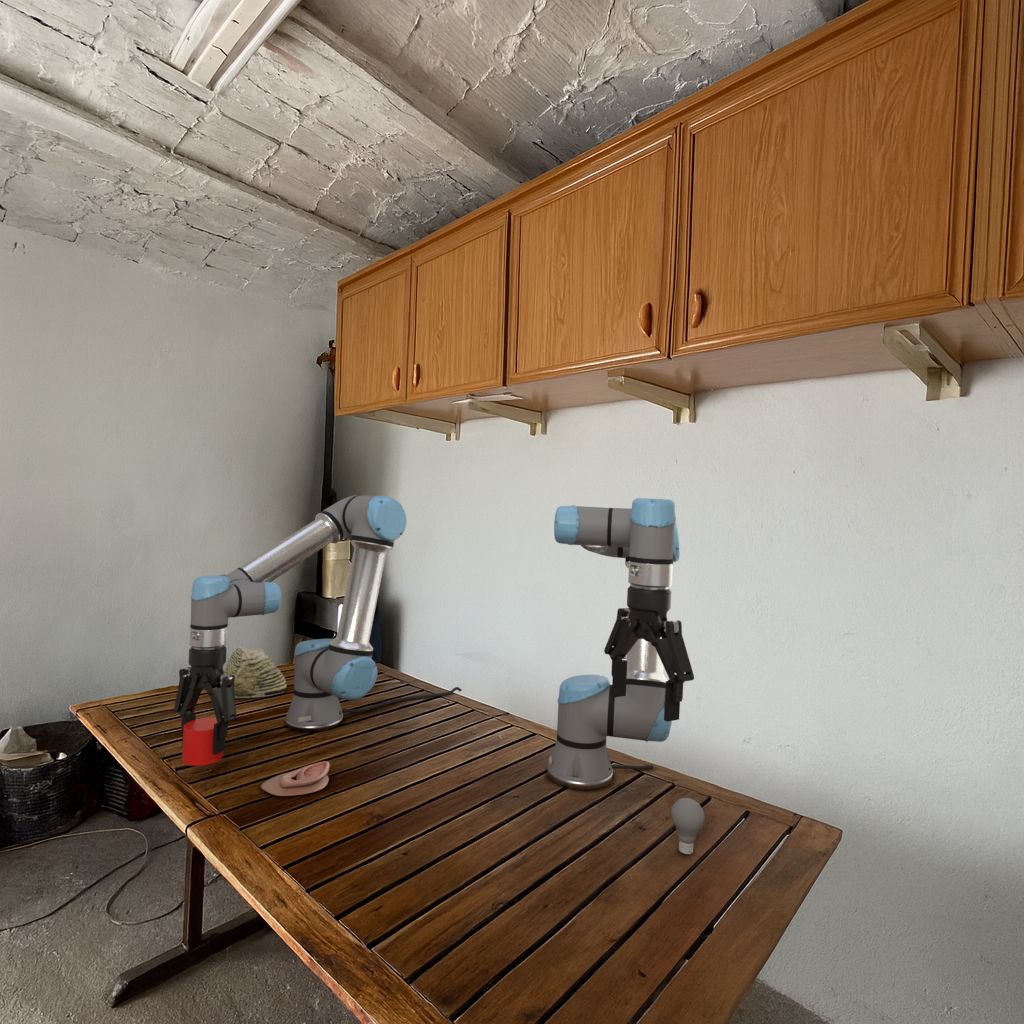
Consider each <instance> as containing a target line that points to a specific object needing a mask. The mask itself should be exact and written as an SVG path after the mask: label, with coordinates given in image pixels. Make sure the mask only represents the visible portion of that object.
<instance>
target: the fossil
mask: <svg viewBox="0 0 1024 1024" xmlns="http://www.w3.org/2000/svg"><path fill="white" fill-rule="evenodd" d="M226 662H227V663H226V666H225V668H224V674H226V675H229V676H230V675H234V676H235V681H234V694H235V699H250V698H264V697H271V696H275V695H281V694H284V693H285V691H286V689H287V687H288V686H287V680H286V678H285V676H284V674H283V673H282V672H281V669H279V668H278V667H277V665H276V663H275V662H274V660H273V659H272V658H271V657H270V656H269V655H268V654H267V653H266V652H265V650H264V649H263V648H260V647H258V648H251V647H247V646H246V647H245V646H238V647H237V648H236V649H235V650H233V651H232V653H231V656H230V657H229V659H228V660H227V661H226Z"/></svg>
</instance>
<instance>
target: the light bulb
mask: <svg viewBox="0 0 1024 1024" xmlns="http://www.w3.org/2000/svg"><path fill="white" fill-rule="evenodd" d="M670 816H671V821H672V823H673V825H674V827H675V829H676V833H677V838H678V843H679V844H678V850H679V852H680V853H682V854H684V855H692V854H693V853H694V844H695V843H694V842H695V841H696V838H697V835H698V834H699V832H700V830H701V829H702V827H703V826H704V823H705V818H706V817H705V812H704V809H703V807H702V806H701V805H700V803H699V802H697V800H695V799H693V798H690V797H682V798H680V799H677V800H676V801H675V803H674V804H673V805H672V807H671V810H670Z"/></svg>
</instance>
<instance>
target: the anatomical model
mask: <svg viewBox="0 0 1024 1024" xmlns="http://www.w3.org/2000/svg"><path fill="white" fill-rule="evenodd" d="M330 766H331V765H330V762H329V761H327V760H325V761H320V762H316V763H312V764H309V765H306V766H302V767H300V768H298V769H295V770H292V771H289V772H285V773H281V774H278V775H276V776H273V777H271V778H269V779H267V780H266V781H264V782H262V783H261V785H260V788H261V789H262V790H263V791H264V792H266V793H268V794H270V795H273V796H276V797H293V796H300V795H301V796H302V795H307V794H311V793H315V792H318V791H321V790H323V789H324V788H325V787H326V786H328V783H329V781H330V778H329V776H328V773H329V770H330Z"/></svg>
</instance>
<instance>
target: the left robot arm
mask: <svg viewBox="0 0 1024 1024" xmlns="http://www.w3.org/2000/svg"><path fill="white" fill-rule="evenodd" d="M314 518H315V519H314V520H313V521H311V522H309V523H308V524H306V525H304V526H303V527H301V528H300V529H298V530H297V531H295V532H293V533H292V534H290V535H289V536H287V537H286V538H284V539H282V540H281V541H279V542H278V543H276V544H274V545H273V546H271V547H269V548H268V549H266V550H265V551H263V552H262V553H260V554H258V555H257V556H255V557H254V558H252V559H250V560H248V561H247V562H246V563H244V564H242V565H241V566H239V567H238V568H236V569H234V570H232V571H230V572H229V573H227V574H219V575H201V576H197V577H195V578H194V580H193V582H192V587H191V594H190V595H191V596H190V600H191V601H190V626H189V627H190V628H189V646H190V648H189V649H188V661H187V663H188V665H189V666H188V667H184V668H180V669H179V670H178V674H179V675H178V677H179V681H178V686H177V692H176V697H175V702H174V707H173V711H174V712H175V713H179V717H181V722H180V728H181V731H183V729H184V725H185V724H186V723H187V722H190V721H193V720H196V719H197V716H196V714H194V713H195V712H196V711H195V708H196V705H197V703H198V701H199V698H200V697H201V693H202V692H203V690H204V691H206V694H207V695H208V696H209V697H210V702H211V705H212V709H213V713H214V716H215V718H216V720H217V723H215V724H214V735H213V754H214V755H216V754H218V753H220V752H223V753H224V751H226V738H227V737H228V734H229V723H230V722H233V721H236V720H237V707H236V706H237V705H236V698H235V694H234V681H235V676H234V675H230V676H229V675H226V674H224V672H225V669H224V666H225V663H226V662H227V651H228V650H227V646H226V645H227V644H228V625H229V618H239V617H250V616H260V615H261V616H264V615H269V614H274V613H276V612H278V610H279V609H280V607H281V605H282V590H281V587H280V586H279V585H278V584H277V583H276V582H273V581H275V580H276V579H278V578H280V577H281V576H283V575H284V574H286V573H287V572H289V571H290V570H292V569H293V568H295V567H296V566H297V565H299V564H301V563H302V562H304V561H305V560H307V559H308V558H310V557H311V556H313V555H314V554H316V553H318V552H319V551H320V550H323V548H325V547H327V546H328V545H330V544H338V543H339V542H340V541H342V540H344V539H347V538H350V539H349V542H350V544H351V545H352V546H353V552H352V558H351V564H350V567H349V568H350V569H349V573H348V577H347V583H346V588H345V593H344V598H343V603H342V608H341V611H340V612H341V613H340V616H339V623H338V627H337V632H336V637H335V638H318V639H308V640H304V641H300V642H299V643H297V644H296V646H295V650H294V655H293V657H294V672H293V673H294V674H293V695H292V696H293V697H292V699H291V702H290V704H289V708H288V711H287V713H286V715H285V726H286V728H287V729H289V730H291V731H294V732H295V731H296V732H301V733H316V732H325V731H329V730H332V729H335V728H337V727H339V726H340V725H342V723H343V722H344V714H343V713H351V714H359V713H365V712H368V711H371V710H374V709H377V708H380V707H385V706H387V705H392V704H395V703H400V702H405V701H411V700H419V699H426V698H434V697H435V698H436V697H442V696H444V697H445V696H449V695H452V694H453V693H455V692H456V691H457V692H462V691H463V690H462V689H461V688H460V687H459V686H456V687H453V688H452V689H450V690H449V691H446V692H445V691H444V692H439V693H429V694H428V693H427V694H420V695H413V696H406V697H401V698H396V699H391V700H388V701H385V702H381V703H378V704H377V703H376V704H374V705H371V706H368V707H364V708H358V709H353V708H352V709H350V708H342V706H341V702H340V700H346V701H357V700H360V699H362V698H364V697H365V696H366V695H367V694H368V693H369V692H371V690H372V689H373V688H374V685H375V684H376V682H377V679H378V666H377V665H376V662H375V661H374V660H373V659H372V658H373V654H374V647H373V646H372V644H371V643H370V638H371V634H372V628H373V623H374V617H375V612H376V608H377V602H378V598H379V592H380V587H381V582H382V576H383V572H384V568H385V567H384V566H385V561H386V556H387V554H388V553H389V552H391V551H392V550H393V549H394V544H395V541H396V540H398V539H399V538H401V536H402V535H403V534H404V533H405V531H406V527H407V514H406V511H405V509H404V507H403V506H402V504H401V503H400V502H399V501H398V500H397V499H395V498H393V497H390V496H385V495H362V494H354V495H350V496H347V497H344V498H343V499H341V500H338V501H337V502H335V503H334V504H332V505H330V506H328V507H327V508H325V509H323V510H322V511H320V512H319V513H317V514H316V515H315V517H314ZM181 748H183V732H182V735H181Z"/></svg>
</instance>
